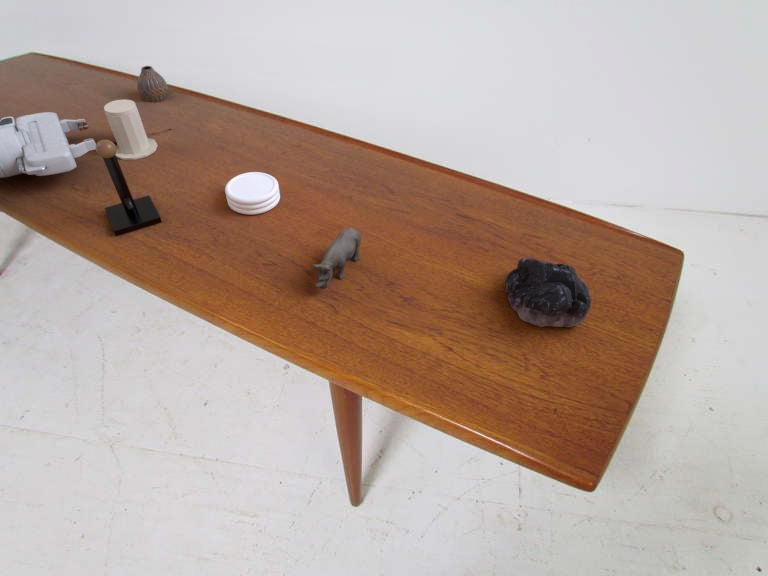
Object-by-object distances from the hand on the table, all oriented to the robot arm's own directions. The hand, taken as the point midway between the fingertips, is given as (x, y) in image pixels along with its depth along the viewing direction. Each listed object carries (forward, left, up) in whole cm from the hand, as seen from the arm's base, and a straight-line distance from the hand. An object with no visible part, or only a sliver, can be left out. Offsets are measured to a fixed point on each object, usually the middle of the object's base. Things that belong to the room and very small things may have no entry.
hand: (91, 133), depth 102 cm
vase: (+17, +20, -6) cm, 27 cm away
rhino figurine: (+26, -57, -6) cm, 63 cm away
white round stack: (+22, -31, -6) cm, 38 cm away
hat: (+7, 0, -6) cm, 9 cm away
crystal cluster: (+51, -80, -6) cm, 95 cm away
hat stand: (+1, -25, -6) cm, 25 cm away
